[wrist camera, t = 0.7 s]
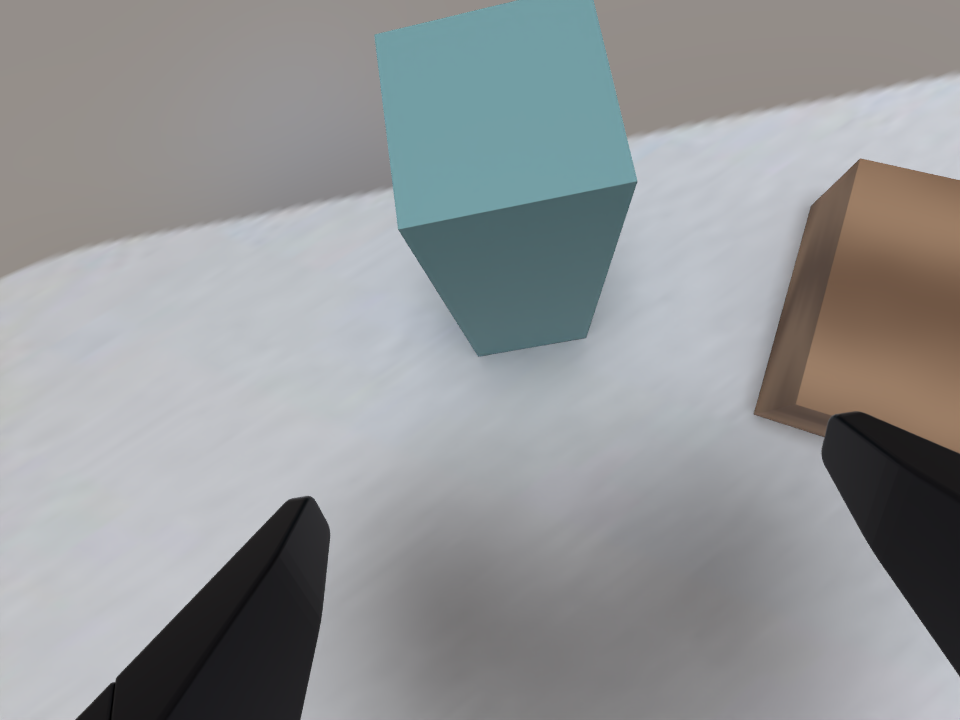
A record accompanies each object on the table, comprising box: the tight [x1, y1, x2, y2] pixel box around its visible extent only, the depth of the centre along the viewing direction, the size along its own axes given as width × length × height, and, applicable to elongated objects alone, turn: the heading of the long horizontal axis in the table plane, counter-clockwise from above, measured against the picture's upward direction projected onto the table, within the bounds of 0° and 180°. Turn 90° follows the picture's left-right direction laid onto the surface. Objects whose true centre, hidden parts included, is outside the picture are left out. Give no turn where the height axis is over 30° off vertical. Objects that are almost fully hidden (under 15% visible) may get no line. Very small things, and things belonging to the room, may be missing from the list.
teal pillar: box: [375, 0, 637, 357], centre depth 17 cm, size 5×5×13 cm
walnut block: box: [754, 159, 960, 453], centre depth 19 cm, size 10×10×4 cm
